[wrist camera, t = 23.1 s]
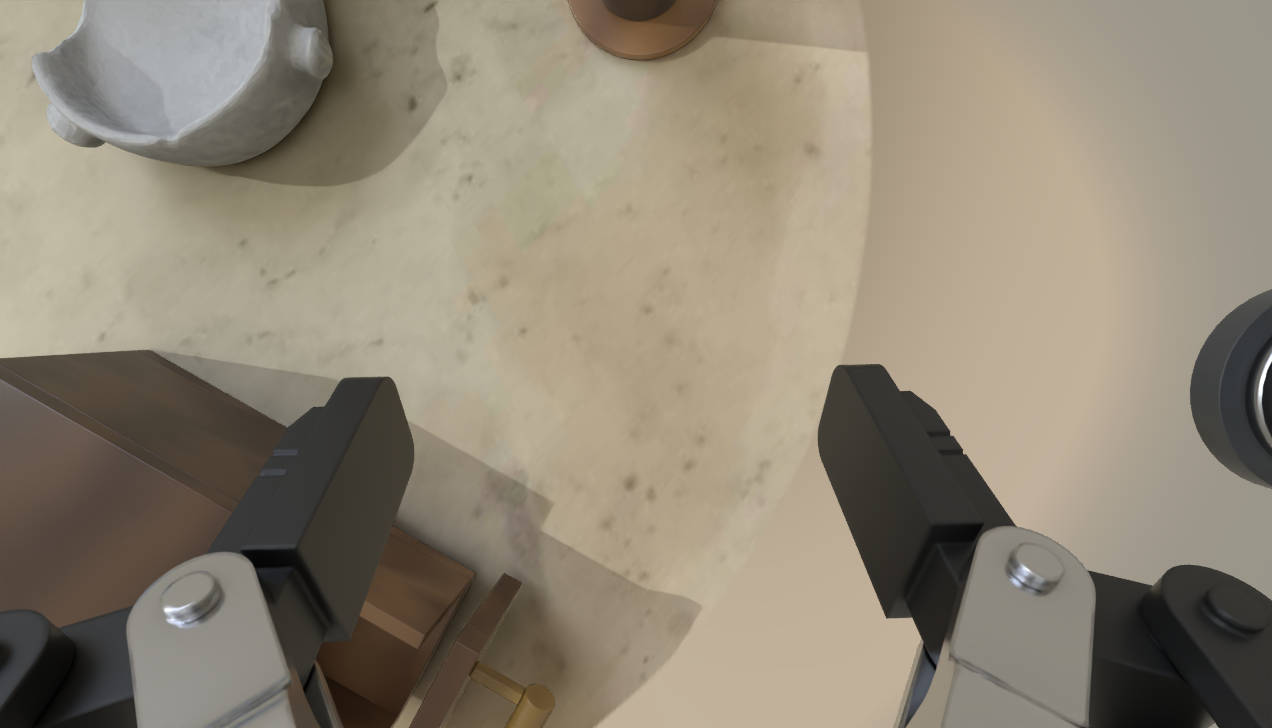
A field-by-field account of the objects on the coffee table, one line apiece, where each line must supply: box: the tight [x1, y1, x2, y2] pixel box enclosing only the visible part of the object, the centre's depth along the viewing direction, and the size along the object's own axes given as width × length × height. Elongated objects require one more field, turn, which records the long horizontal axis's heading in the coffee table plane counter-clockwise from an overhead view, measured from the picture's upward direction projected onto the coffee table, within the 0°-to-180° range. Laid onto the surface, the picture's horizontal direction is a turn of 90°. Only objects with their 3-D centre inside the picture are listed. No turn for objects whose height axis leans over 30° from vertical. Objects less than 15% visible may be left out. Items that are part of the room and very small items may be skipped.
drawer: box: [316, 526, 555, 728], centre depth 29 cm, size 18×11×7 cm, turn 62°
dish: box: [32, 0, 333, 166], centre depth 29 cm, size 14×14×5 cm
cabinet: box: [0, 350, 287, 628], centre depth 30 cm, size 15×13×9 cm
